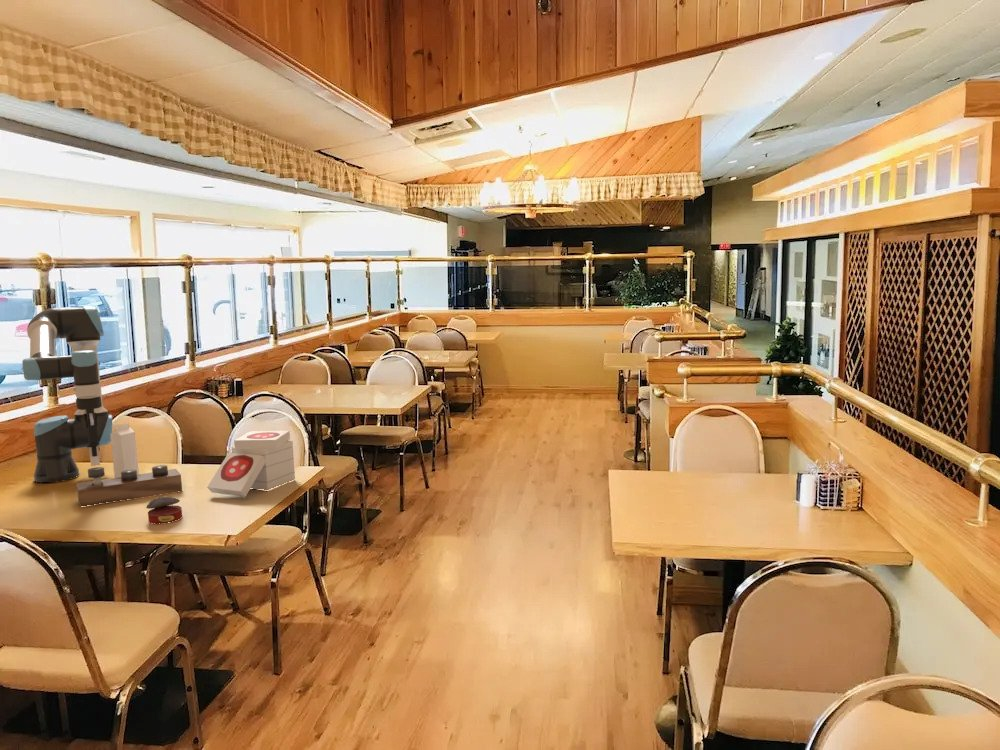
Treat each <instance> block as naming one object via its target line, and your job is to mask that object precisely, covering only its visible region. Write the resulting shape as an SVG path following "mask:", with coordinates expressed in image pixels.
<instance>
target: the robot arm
mask: <svg viewBox="0 0 1000 750" xmlns="http://www.w3.org/2000/svg"><path fill="white" fill-rule="evenodd" d="M26 333H27V336H28V338H29V341H30V343H29V344H30V347H29V357H28V358H23V359H22V363H21V364H22V371H23V378H24V380H26V381H42V380H53V379H65V378H66V379H67V378H73V383H74V384H73V385H74V387H73V388H72V391H73V392H75V393H74V394H75V397H76V399H75V403H76V409H77V410H76V411H75V412H74V414H73V417H74V418H69V416H68V415H56V416H51V417H46V418H42V419H41V420H39V421H37V422H35V423H34V425H33V437H34V440H35V441H34V442H35V452H36V460H37V461H36V466H35V469H34V473H33V481H34V482H35V481H36V482H35V483H37V482H54V483H57V482H56V481H61V482H63V481H62V480H66V481H69V480H68V479H70V480H72V479H71V478H73V479H75V478H74V477H76V476H78V475H79V476H80V470H79V467H78V464H77V463H76V461H75V459H74V457H73V453H72V450H76V449H83V448H88V449H89V450H88V451H89V459H90V460H89V461H90V466H91V467H95V466H100V465H101V461H100V459H101V458H100V453H99V452H100V451H99V447H101V446H107V445H109V444H110V443H111V436H110V434H111V433H112V432H113V415H112V414H109V411H108V409H107V408H105V407H104V403H103V393H102V384H101V375H100V374H101V373H100V368H99V367H100V366H99V358H98V357H99V355H98V345H99V344H100V342H101V337H103V336H104V335H105V333H104V329H103V324H102V320H101V316H100V313H99V310H98V308H97V307H95V306H85V305H83V306H69V307H66V306H65V307H51V308H46V309H44V310H43V311H40V312H39V313H37V314H36V315H34V316H33V318H31V319H30V321H29V322H28V325H27V328H26ZM55 339H66V340H65V342H66V344H67V345H69V346H70V348H71V354H70V355H69V354H68V355H56V350H55V349H56V346H55V342H56V341H55ZM79 476H78V477H79ZM76 478H77V477H76Z"/></svg>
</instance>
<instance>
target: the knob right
mask: <svg viewBox="0 0 1000 750" xmlns="http://www.w3.org/2000/svg"><path fill="white" fill-rule="evenodd" d="M151 470H152V473H153V475H155V476H160V475H165V474H167V473H168V470H169V468H168V465H164V464H163V465H161V464H160V465H156V466H152V467H151Z"/></svg>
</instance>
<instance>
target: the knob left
mask: <svg viewBox="0 0 1000 750" xmlns="http://www.w3.org/2000/svg"><path fill="white" fill-rule="evenodd" d="M105 475H106V474H105V467H102V466H101V467H100V466H98V467H93V468H92V467H91V468H88V469H87V476H88V478H89V479H92V481H93V484H94V486H95V485H101V480H102V477H104V476H105Z"/></svg>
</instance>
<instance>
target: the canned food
mask: <svg viewBox="0 0 1000 750" xmlns="http://www.w3.org/2000/svg"><path fill="white" fill-rule="evenodd" d="M180 501H181V500H180V499H179V498H176V497H173V496H172V497H170V496H161V497H160V496H159V497H157V498H153V499H152V500H151V501H150V502H148V504H147V505H146V506H145V508H146V509H149V511H147V516H148V517H147V518H148V523H149V522H150V523H149V524H151V523H153V525H162V524H161V523H166V524H169V523H168V522H171V523H173V522H172V521H175V520H178V519H180V518H181V517H182V518H183V510H182V507H181V506H180V505H175V504H178V503H180ZM182 518H181V519H182ZM181 519H180V520H181ZM178 521H179V520H178ZM175 522H176V521H175ZM154 523H155V524H154ZM159 523H160V524H159Z"/></svg>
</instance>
